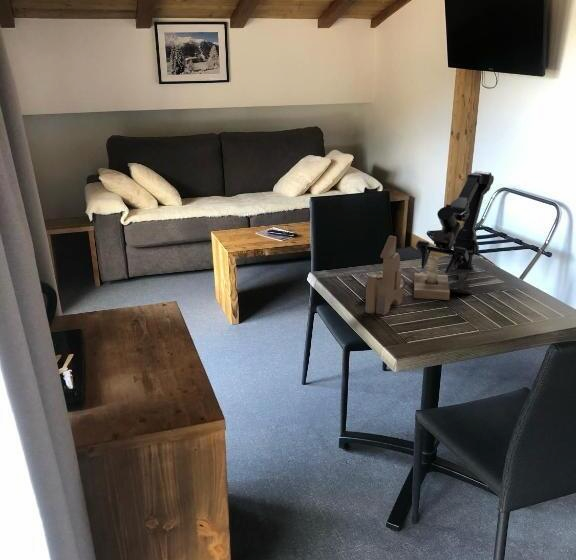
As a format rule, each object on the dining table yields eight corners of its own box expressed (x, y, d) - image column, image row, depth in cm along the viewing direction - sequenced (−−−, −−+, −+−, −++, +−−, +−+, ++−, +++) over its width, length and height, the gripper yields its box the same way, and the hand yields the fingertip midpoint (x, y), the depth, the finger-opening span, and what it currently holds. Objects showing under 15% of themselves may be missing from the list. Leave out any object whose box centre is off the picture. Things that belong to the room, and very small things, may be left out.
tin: (401, 292, 206) (402, 270, 204) (405, 295, 204) (407, 273, 201) (363, 298, 201) (364, 275, 198) (368, 301, 199) (369, 278, 196)
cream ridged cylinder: (430, 287, 211) (433, 255, 207) (438, 290, 208) (441, 257, 204) (423, 289, 209) (426, 256, 205) (431, 292, 206) (433, 259, 202)
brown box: (414, 280, 218) (414, 273, 217) (446, 282, 216) (447, 275, 215) (413, 297, 201) (414, 289, 200) (449, 300, 199) (449, 292, 198)
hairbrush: (474, 270, 222) (471, 288, 199) (473, 279, 223) (470, 298, 200) (452, 268, 224) (447, 286, 202) (451, 277, 226) (446, 296, 203)
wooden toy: (384, 298, 201) (388, 229, 193) (402, 302, 197) (407, 232, 189) (363, 312, 189) (366, 239, 181) (381, 317, 186) (386, 243, 177)
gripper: (419, 219, 211) (404, 255, 206) (469, 226, 200) (454, 264, 196) (427, 235, 219) (412, 269, 215) (475, 243, 209) (460, 280, 204)
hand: (434, 270), depth 207 cm, fingers open, 9 cm apart
